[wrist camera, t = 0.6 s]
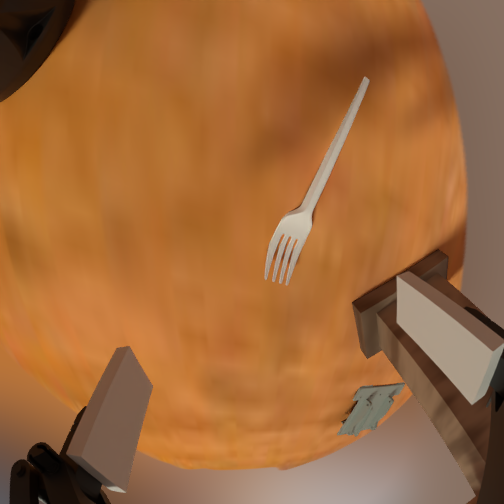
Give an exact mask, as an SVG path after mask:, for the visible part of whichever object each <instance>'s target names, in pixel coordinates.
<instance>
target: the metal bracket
mask: <svg viewBox="0 0 504 504" xmlns="http://www.w3.org/2000/svg"><path fill="white" fill-rule="evenodd" d="M404 385H405V384H404V383H397V384H393V385H383V386H373V385H370V386H362V387H360V388H359V389H358V391H357V393H356V395H355V396H354V398H353V401H357V400H359V401H358V403H357V404H356V406H355V407H354V409H353V411H352V412H351V414H350V415H349V417H348V418H347V420H346V421H342V422H341V423H342V424H343V426H342V427H341V429H340V430H339V432H338V433H337V435H342V434H348V435H353V434H354V435H355V436H358V434H359V432H360V431H362V430H366V429H371V430H375V429H376V427H377V424H378V421H379V420H380V419H381V418H382V417H384V416H385V415H386V413H387V411H388V410H389V408H390V407H391V405H392V404H393V402H394V400H393V399H392V397H393V396H394V395H399V394H400V392H401V390H402V388H403V387H404ZM390 401H391V402H390Z"/></svg>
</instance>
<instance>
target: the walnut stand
mask: <svg viewBox="0 0 504 504" xmlns="http://www.w3.org/2000/svg"><path fill="white" fill-rule="evenodd" d="M447 268H448V256H447V255H445V254H444V253H443V252H441V251H440V250H437V251H435V252H434V253H432V254H431V255H429V256H428V257H426V258H425V259H423V260H422V261H420V262H419V263H417V264H416V265H414V266H413V267H411V268H409V269H408V270H406V271H405V272H408V271H410V272H411V273H413V274H414V275H416V276H417V277H419V278H420V279H422V280H423V281H425V282H426V283H428V284H429V285H431V286H432V287H434V288H435V289H437V290H438V291H439V292H441V293H442V294H444V295H445V296H447V297H448V298H449V299H451V300H452V301H454V302H455V303H456V304H458V305H459V306H461V307H462V308H464V307H466V306H468V307H470V308H473V309H476V310H478V311H479V312H481V313H482V314H484V313H483V312H482V311H481V310H480V309H479V308H477V307H476V306H475V305H474V304H473V303H472V302H471V301H470V300H469V299H468V298H466V297H465V296H464V295H463V294H462V293H461V292H460V291H459V290H457V289H456V288H455V287H454V286H453V285H452V284H450V283H449V282H448V281H447V280H446V279H447ZM405 272H403V273H405ZM352 305H353V310H354V315H355V320H356V325H357V331H358V336H359V342H360V348H361V350H362V352H363V353H364V355H365V356H366V358H367V359H368V358H370V357H371V356H373V355H375V354H376V353H378V352H380V351H381V350H383V352H384V353H385V355H386V356H387V357H388V359H389V360H390V362H391V363H392V364H393V366H394V367H395V369H396V370H397V371H398V373H399V374H400V376H401V377H402V379H403V380H404V381H405V383H406V384H407V386H408V387H409V389H410V390H411V392H412V393H413V395H414V396H415V397H416V399H417V400H418V402H419V403H420V405H421V406H422V408H423V409H424V411H425V412H426V414H427V415H428V417H429V418H430V420H431V422H432V423H433V425H434V426H435V428H436V429H437V431H438V432H439V434H440V436H441V437H442V439H443V440H444V442H445V443H446V445H447V447H448V448H449V450H450V452H451V453H452V455H453V457H454V458H455V460H456V462H457V463H458V465H459V467H460V468H461V470H462V472H463V473H464V475H465V477H466V479H467V480H468V482H469V484H470V486H471V487H472V489H473V491H474V493H475V495H476V497H474V498H473V499H472V500H471V501H469V502H468V503H467V504H476V503H477V499H478V496H479V492H480V488H481V484H482V479H483V474H484V469H485V464H486V458H487V451H488V443H489V434H490V422H491V402H490V404H489V406H488V407H486V404H487V401H488V399H489V397H490V395H491V393H492V391H493V388H492V387H491V386H490V385H489V387H488V389H487V392H486V394H485V395H484V396H483V397H482V398H481V399H479V400H478V401H477V402H475V403H474V404H473V405H471V404H470V402H469V401H468V400H467V399H466V398H465V397H464V395H463V394H462V393H461V392H460V391H459V390H458V388H457V387H456V386H455V385H454V384H453V383H452V382H451V380H450V379H449V378H448V377H447V376H446V375H445V374H444V373H443V371H442V370H441V369H440V368H439V367H438V366H437V365H436V364H435V363H434V361H433V360H432V359H431V358H430V357H429V356H428V355H427V354H426V353H425V352H424V351H423V350H422V349H421V347H420V346H419V345H418V344H417V343H416V342H415V341H414V340H413V339H412V338H411V337H410V336H409V335H408V334H407V333H406V332H405V331H404V330H403V329H402V328H401V327H400V325H399V324H398V323H397V277H395V278H393V279H392V280H390V281H389V282H387V283H385V284H384V285H382V286H380V287H378V288H377V289H375V290H373V291H372V292H370V293H368V294H366V295H365V296H363V297H361V298H359V299H358V300H356V301H354V302H352ZM484 315H485V314H484ZM485 317H487V316H486V315H485Z"/></svg>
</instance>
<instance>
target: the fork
mask: <svg viewBox="0 0 504 504" xmlns="http://www.w3.org/2000/svg"><path fill="white" fill-rule="evenodd" d="M369 82H370V80H369V79H368V78H367V77H365V76H364V78H363V80H362V83H361V85H360V87H359V89H358V91H357V93H356V95H355V97H354V99H353V101H352V103H351V105H350V107H349V109H348V111H347V114H346V116H345V118H344V120H343V122H342V124H341V126H340V128H339V130H338V132H337V133H336V135H335V137H334V139H333V141H332V143H331V145H330V147H329V149H328V151H327V153H326V155H325V157H324V159H323V161H322V163H321V166H320V168H319V170H318V172H317V174H316V176H315V178H314V180H313V182H312V184H311V186H310V188H309V190H308V192H307V195H306V197H305V199H304V201H303V203H302V205H301V206H300V207H299V208H297V209H295V210H293V211H290V212H288V213H287V214H286V215H285V216H284V217H283V218H282V220H281V221H280V223H279V225H278V227H277V228H276V230H275V232H274V234H273V237H272V239H271V241H270V243H269V247H268V252H267V258H266V266H265V280H267V277H268V273H269V269H270V266H271V262H272V259H273V256H274V253H275V250H276V248H277V245H278V243H279V240H280V238H281V236H282V234H285V236H284V238H283V240H282V242H281V244H280V246H279V250H278V254H277V258H276V262H275V267H274V272H273V279H272V281H273V282H275V279H276V275H277V271H278V268H279V264H280V261H281V258H282V254H283V251H284V248H285V246H286V243H287V240H288V238H289V236H291V240H290V242H289V244H288V246H287V248H286V252H285V256H284V260H283V264H282V269H281V274H280V280H279V283H280V284H281V283H282V281H283V277H284V273H285V269H286V266H287V262H288V259H289V256H290V253H291V250H292V247H293V245H294V242H295V240H296V239H298V242H297V244H296V246H295V248H294V250H293V253H292V256H291V260H290V264H289V269H288V274H287V279H286V285H288V284H289V281H290V278H291V275H292V272H293V270H294V267H295V264H296V261H297V259H298V256H299V254H300V252H301V249H302V247H303V245H304V243H305V241H306V238H307V236H308V234H309V232H310V230H311V228H312V212H313V210H314V208H315V205H316V203H317V201H318V199H319V197H320V195H321V193H322V190H323V188H324V186H325V184H326V182H327V180H328V177H329V175H330V173H331V171H332V169H333V166H334V164H335V162H336V160H337V157H338V155H339V153H340V151H341V148H342V146H343V144H344V142H345V139H346V137H347V135H348V132H349V130H350V128H351V125H352V123H353V121H354V118H355V116H356V114H357V111H358V109H359V106H360V104H361V102H362V99H363V97H364V94H365V92H366V89H367V87H368V84H369Z"/></svg>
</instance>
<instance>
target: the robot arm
mask: <svg viewBox="0 0 504 504" xmlns="http://www.w3.org/2000/svg"><path fill="white" fill-rule="evenodd" d="M74 2H75V0H0V102H2V101H3V100H5V99H6V98H8V97H9V96H11V95H12V94H13V93H14V92H16V91H17V90H18V89H19V88H20V87H21V86H22V85H23V84H24V83H25V82H26V81H27V80H28V79H29V78H30V77H31V76H32V75H33V73H34V72H35V71H36V70H37V69H38V67H39V66H40V65H41V64H42V62H43V61H44V60H45V58H46V57H47V56H48V54H49V53H50V51H51V50H52V48H53V47H54V45H55V43H56V42H57V40H58V38H59V37H60V35H61V33H62V31H63V29H64V27H65V25H66V23H67V21H68V19H69V17H70V14H71V11H72V9H73V6H74ZM397 323H398V324H399V325H400V327H401V328H402V329H403V330H404V331H405V332H406V333H407V334H408V335H409V336H410V337H411V338H412V339H413V340H414V341H415V342H416V343H417V344H418V345H419V346H420V347H421V349H422V350H423V351H424V352H425V353H426V354H427V355H428V356H429V357H430V358H431V359H432V360H433V361H434V363H435V364H436V365H437V366H438V367H439V368H440V369H441V370H442V371H443V373H444V374H445V375H446V376H447V377H448V378H449V379H450V380H451V382H452V383H453V384H454V385H455V386H456V387H457V388H458V390H459V391H460V392H461V393H462V394H463V395H464V397H465V398H466V399H467V400H468V401H469V402H470V404H471V405H473V404H474V403H475V402H477V401H478V400H479V399H481V398H482V397H483V396H484V395H485V394H486V392H487V389H488V387H489V385H490V386H491V387H492V388H493V391H492V393H491V395H490V397H489V399H488V401H487V404H486V407H488V406H489V404H490V402H491V422H490V434H489V443H488V451H487V458H486V464H485V469H484V474H483V479H482V484H481V488H480V492H479V496H478V499H477V503H476V504H504V329H502V328H501V327H500V326H498V325H497V324H496V323H494V322H493V321H491V320H490V319H489V318H488V317H485V315H484V314H482V313H481V312H479V311H478V310H476V309H473V308H470V307H468V306H466V307H464V308H462V307H461V306H459V305H458V304H456V303H455V302H454V301H452V300H451V299H449V298H448V297H447V296H445V295H444V294H442V293H441V292H439V291H438V290H437V289H435V288H434V287H432V286H431V285H429V284H428V283H426V282H425V281H423V280H422V279H420V278H419V277H417V276H416V275H414V274H413V273H411V272H410V271H408V272H405V273H402V274H400V275H397ZM152 388H153V385H152V384H151V382H150V380H149V379H148V377H147V376H146V374H145V372H144V371H143V369H142V367H141V366H140V364H139V362H138V360H137V359H136V357H135V355H134V353H133V352H132V350H131V348H130V346H126V347H120V348H117V349H116V351H115V352H114V354H113V356H112V358H111V360H110V362H109V364H108V366H107V367H106V369H105V371H104V373H103V375H102V377H101V379H100V381H99V383H98V385H97V387H96V389H95V391H94V393H93V395H92V397H91V399H90V401H89V403H88V405H87V406H85V407H84V408H83V409H82V410H81V411H80V412H79V413H78V415H77V417H76V419H75V421H74V425H72V428H71V431H70V432H69V434H68V436H67V438H66V441H65V443H64V445H63V448H62V450H61V452H60V454H59V455H58V454H57V453H56V452H55V451H54V450H53V449H52V448H51V447H50V446H49V445H48V444H46V443H43V442H40V443H37V444H35V445H34V446H32V448H31V449H30V450H29V452H28V455H27V461H28V462H30V463H31V464H32V465H33V466H34V467H33V466H32V465H31V464H30V463H28V462H27V461H26V460H18V461H17V462H16V463H14V465H13V467H12V470H11V478H10V504H39V500H41V501H42V502H44V503H45V504H111V503H110V502H109V499H108V498H107V496H106V494H105V493H104V492H103V490H101V486H102V484H103V485H104V486H106V487H107V488H108V489H110V490H112V491H118V492H126V491H127V487H128V482H129V477H130V473H131V468H132V464H133V460H134V456H135V452H136V448H137V444H138V440H139V436H140V432H141V428H142V424H143V420H144V417H145V413H146V409H147V406H148V402H149V399H150V395H151V392H152Z"/></svg>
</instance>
